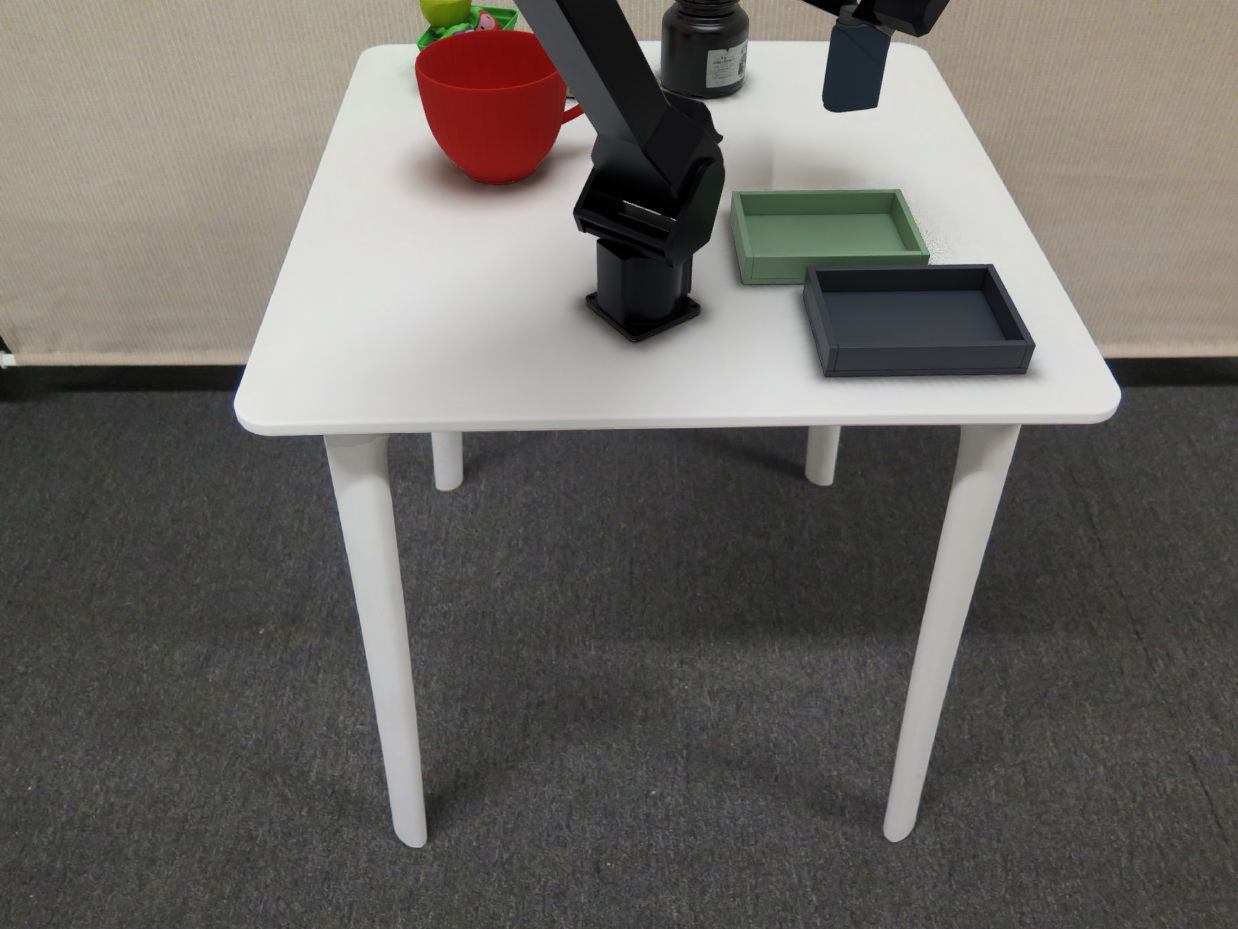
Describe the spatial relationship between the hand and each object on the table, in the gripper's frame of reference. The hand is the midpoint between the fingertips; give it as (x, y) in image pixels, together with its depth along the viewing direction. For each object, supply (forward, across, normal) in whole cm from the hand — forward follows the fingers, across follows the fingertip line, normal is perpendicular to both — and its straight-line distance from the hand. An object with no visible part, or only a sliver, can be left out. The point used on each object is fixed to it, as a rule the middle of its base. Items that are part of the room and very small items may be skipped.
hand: (874, 24), depth 84 cm
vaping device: (+4, 0, +6) cm, 7 cm away
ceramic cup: (-5, +21, +25) cm, 33 cm away
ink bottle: (+12, +22, +6) cm, 26 cm away
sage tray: (+1, -7, +18) cm, 19 cm away
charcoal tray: (-2, -19, +21) cm, 28 cm away
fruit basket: (0, +41, +19) cm, 45 cm away
